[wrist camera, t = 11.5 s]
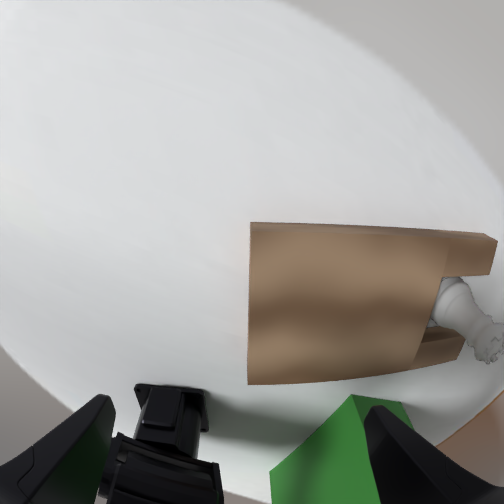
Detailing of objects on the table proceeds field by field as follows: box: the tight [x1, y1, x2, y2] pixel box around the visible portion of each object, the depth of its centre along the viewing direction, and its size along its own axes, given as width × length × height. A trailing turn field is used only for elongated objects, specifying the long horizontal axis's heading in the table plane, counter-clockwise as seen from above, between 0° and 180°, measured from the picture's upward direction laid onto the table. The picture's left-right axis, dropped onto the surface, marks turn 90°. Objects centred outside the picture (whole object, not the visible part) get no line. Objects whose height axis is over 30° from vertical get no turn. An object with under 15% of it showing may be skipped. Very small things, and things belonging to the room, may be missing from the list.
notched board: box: [247, 222, 498, 385], centre depth 20 cm, size 12×20×2 cm, turn 89°
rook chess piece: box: [430, 277, 504, 364], centre depth 17 cm, size 4×4×8 cm
